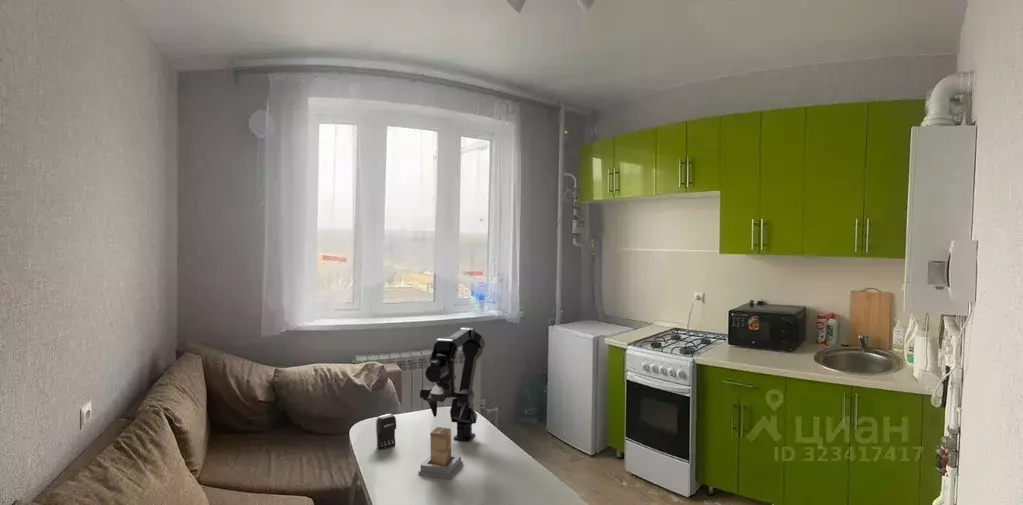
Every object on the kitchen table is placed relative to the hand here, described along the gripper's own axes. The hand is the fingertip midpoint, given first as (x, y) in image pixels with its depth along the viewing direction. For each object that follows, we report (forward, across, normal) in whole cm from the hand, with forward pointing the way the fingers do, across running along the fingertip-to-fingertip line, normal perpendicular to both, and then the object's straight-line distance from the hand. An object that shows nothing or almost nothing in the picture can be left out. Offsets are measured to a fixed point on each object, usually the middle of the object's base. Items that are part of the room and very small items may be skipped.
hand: (446, 417), depth 178 cm
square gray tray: (+13, +3, -11) cm, 17 cm away
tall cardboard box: (+12, +3, -11) cm, 17 cm away
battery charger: (+13, -24, -1) cm, 27 cm away
